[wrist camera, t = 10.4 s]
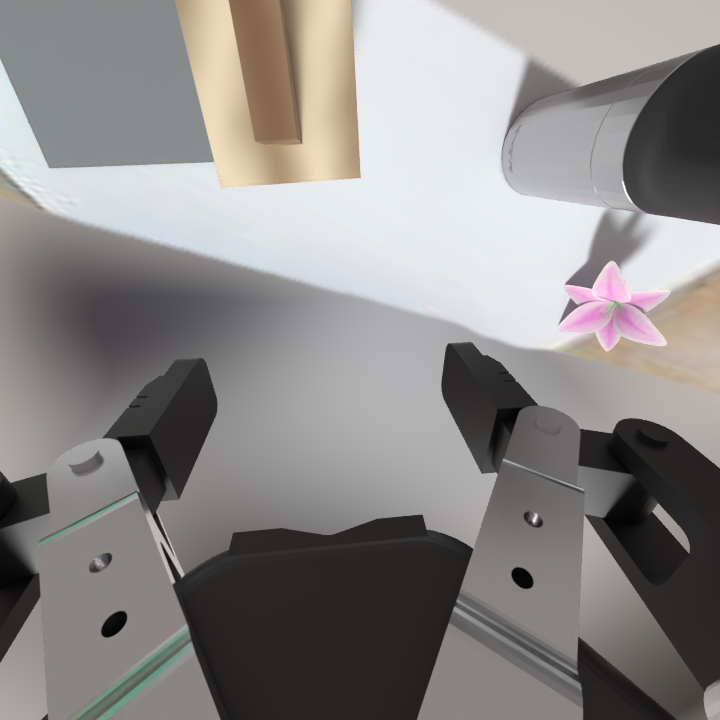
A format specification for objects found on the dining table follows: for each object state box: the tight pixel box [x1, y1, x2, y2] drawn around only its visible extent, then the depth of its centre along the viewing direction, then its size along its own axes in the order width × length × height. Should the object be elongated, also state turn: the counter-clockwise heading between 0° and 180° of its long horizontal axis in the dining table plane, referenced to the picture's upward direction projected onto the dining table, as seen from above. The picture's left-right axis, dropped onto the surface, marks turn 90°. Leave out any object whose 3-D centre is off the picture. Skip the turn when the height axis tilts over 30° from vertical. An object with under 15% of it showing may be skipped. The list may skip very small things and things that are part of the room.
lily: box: [558, 261, 671, 351], centre depth 43 cm, size 12×12×10 cm
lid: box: [175, 0, 361, 188], centre depth 21 cm, size 11×11×7 cm
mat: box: [0, 0, 214, 168], centre depth 30 cm, size 18×14×1 cm
